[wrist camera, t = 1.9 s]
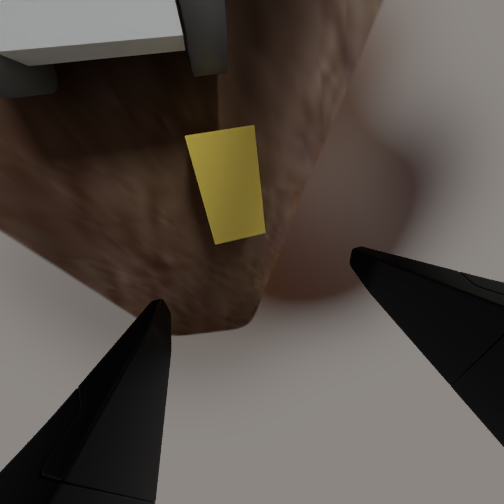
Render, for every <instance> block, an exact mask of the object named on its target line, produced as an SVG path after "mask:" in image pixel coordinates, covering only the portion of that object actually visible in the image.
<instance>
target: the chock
mask: <svg viewBox="0 0 504 504" xmlns="http://www.w3.org/2000/svg"><path fill="white" fill-rule="evenodd" d="M185 139H186V142H187V146H188V150H189V153H190V157H191V160H192V164H193V167H194V171H195V175H196V178H197V182H198V185H199V189H200V192H201V196H202V199H203V203H204V207H205V210H206V214H207V217H208V221H209V224H210V228H211V231H212V235H213V239H214V242H215V245H216V244H221V243H225V242H229V241H234V240H238V239H242V238H246V237H251V236H255V235H259V234H263V233H265V223H264V214H263V204H262V194H261V184H260V175H259V165H258V155H257V146H256V136H255V126H254V125H250V126H244V127H237V128H231V129H225V130H218V131H212V132H205V133H199V134H193V135H186V136H185Z"/></svg>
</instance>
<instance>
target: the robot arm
mask: <svg viewBox="0 0 504 504" xmlns="http://www.w3.org/2000/svg"><path fill="white" fill-rule="evenodd" d="M350 265H351V267H352V269H353V270H354V272H355V273H356V274H357V276H358V277H359V279H360V280H361V282H362V283H363V284H364V286H365V287H366V289H367V290H368V291H369V292H370V294H371V295H372V296H373V297H374V298H375V299H376V300H377V302H378V303H379V304H380V305H381V306H382V307H383V309H384V310H385V311H386V312H387V313H388V314H389V316H391V318H392V319H393V320H394V321H395V322H396V324H397V325H398V326H399V327H400V328H401V329H402V330H403V332H404V333H405V334H406V335H407V336H408V337H409V338H410V340H411V341H412V342H413V343H414V344H415V345H416V346H417V348H418V349H419V350H420V351H421V352H422V353H423V355H424V356H425V357H426V358H427V359H428V360H429V361H430V363H431V364H432V365H433V366H434V367H435V368H436V369H437V370H438V372H439V373H440V374H441V375H442V376H443V377H444V379H445V380H446V381H447V382H448V383H449V384H450V385H451V387H452V388H453V389H454V390H455V392H457V394H458V395H459V396H460V397H461V398H462V400H463V401H464V402H465V403H466V404H467V405H468V406H469V408H470V409H471V410H472V411H473V412H474V413H475V414H476V416H477V417H478V418H479V419H480V420H481V421H482V423H484V425H485V426H486V427H487V428H488V429H489V431H490V432H491V433H492V434H493V435H494V436H495V437H496V439H497V440H498V441H499V442H500V443H501V444H502V446H503V447H504V283H503V282H499V281H494V280H490V279H486V278H482V277H478V276H474V275H470V274H466V273H463V272H458V271H454V270H451V269H447V268H443V267H439V266H435V265H432V264H428V263H424V262H420V261H416V260H412V259H408V258H405V257H401V256H397V255H393V254H389V253H385V252H382V251H377V250H373V249H370V248H366V247H362V246H361V247H356V248H354V249H353V250H352V252H351V258H350ZM170 358H171V313H170V310H169V309H168V307H167V305H166V303H165V302H164V300H163V299H158V300H154V301H152V302H151V303H150V304H149V305H148V306H147V307H146V308H145V309H144V311H143V312H142V313H141V314H140V315H139V316H138V318H137V319H136V320H135V321H134V322H133V323H132V325H131V326H130V327H129V328H128V329H127V330H126V332H125V333H124V334H123V335H122V336H121V337H120V339H119V340H118V341H117V342H116V343H115V345H114V346H113V347H112V348H111V349H110V350H109V351H108V353H107V354H106V355H105V356H104V357H103V358H102V359H101V361H100V362H99V363H98V364H97V365H96V367H95V368H94V369H93V370H92V371H91V372H90V373H89V375H88V376H87V377H86V378H85V379H84V381H83V382H82V383H81V384H80V385H79V386H78V389H76V390H75V391H74V392H73V393H72V394H71V395H70V397H69V398H68V399H67V400H66V401H65V402H64V403H63V405H62V406H61V407H60V408H59V409H58V410H57V412H56V413H55V414H54V415H53V416H52V417H51V418H50V419H49V420H48V422H47V423H46V424H45V425H44V426H43V427H42V428H41V429H40V430H39V431H38V432H37V433H36V435H35V436H34V437H33V438H32V439H31V440H30V441H29V442H28V443H27V445H25V447H24V448H23V449H22V450H21V451H20V452H19V453H18V454H17V455H16V456H15V457H14V458H13V459H12V460H11V461H10V462H9V463H8V464H7V465H6V467H5V468H4V469H3V470H2V471H1V472H0V504H155V503H154V502H155V500H156V491H157V482H158V472H159V463H160V454H161V444H162V435H163V424H164V416H165V406H166V396H167V387H168V377H169V368H170Z"/></svg>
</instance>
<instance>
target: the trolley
mask: <svg viewBox="0 0 504 504" xmlns="http://www.w3.org/2000/svg"><path fill="white" fill-rule="evenodd" d="M179 18H180V20H179ZM180 23H181V24H180ZM181 27H182V29H181ZM182 31H183V33H182ZM183 36H184V39H183ZM184 40H185V44H186V49H187V53H188V57H189V61H190V65H191V69H192V72H193V76H194V77H197V76H206V75H214V74H223V73H225V72H226V69H227V55H228V53H227V25H226V11H225V0H0V97H3V98H10V99H12V98H20V97H29V96H37V95H45V94H53V93H54V92H55V91H56V90H57V86H58V81H57V75H56V71H55V68H54V65H53V64H55V63H65V62H75V61H85V60H95V59H105V58H115V57H125V56H135V55H145V54H155V53H165V52H175V51H185V45H184Z"/></svg>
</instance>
